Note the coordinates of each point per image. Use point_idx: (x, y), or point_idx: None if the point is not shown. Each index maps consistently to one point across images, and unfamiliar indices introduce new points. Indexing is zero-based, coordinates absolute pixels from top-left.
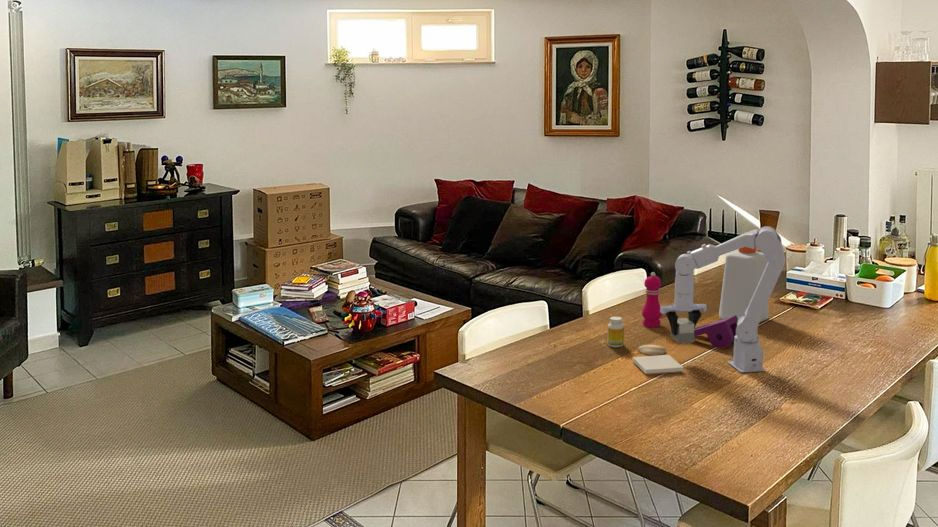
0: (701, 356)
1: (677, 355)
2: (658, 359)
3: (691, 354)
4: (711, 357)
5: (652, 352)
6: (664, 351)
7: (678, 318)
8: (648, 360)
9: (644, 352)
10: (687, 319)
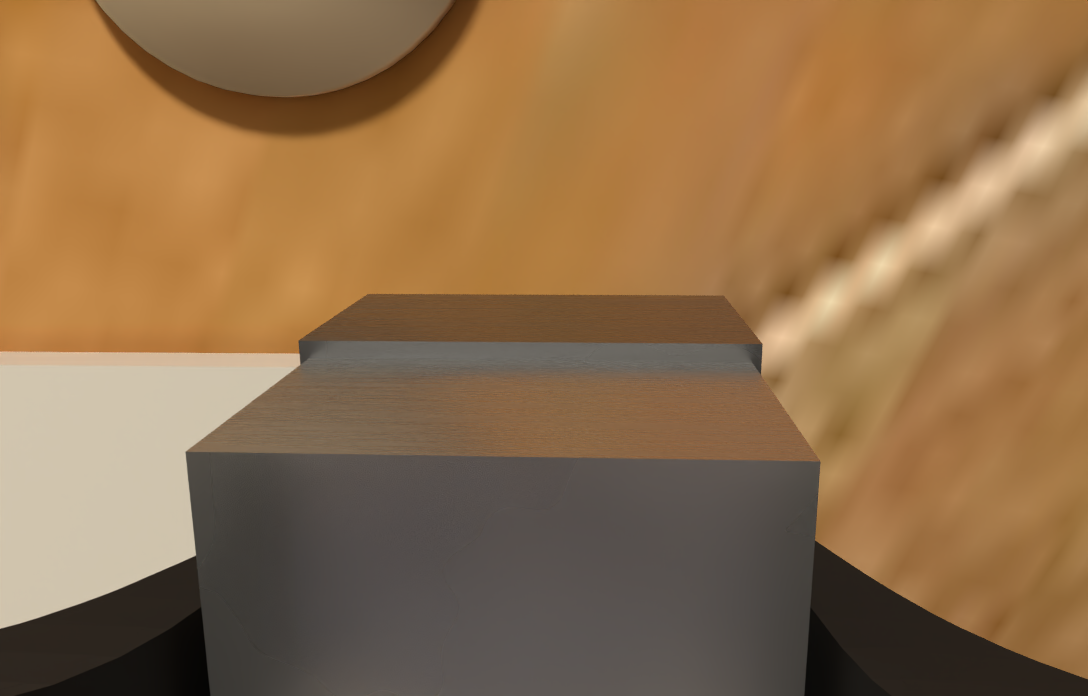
0: (925, 281)
1: (592, 170)
2: (166, 528)
3: (820, 164)
4: (1047, 351)
5: (225, 44)
6: (425, 30)
7: (458, 490)
8: (21, 538)
9: (106, 10)
10: (760, 690)
